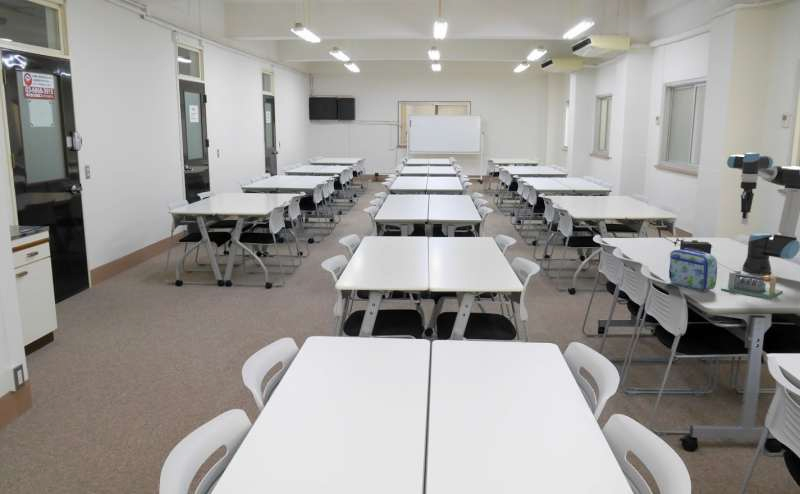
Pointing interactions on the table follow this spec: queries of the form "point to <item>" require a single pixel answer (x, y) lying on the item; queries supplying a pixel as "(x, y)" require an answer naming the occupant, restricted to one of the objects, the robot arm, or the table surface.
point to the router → (696, 246)
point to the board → (767, 293)
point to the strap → (755, 277)
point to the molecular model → (676, 243)
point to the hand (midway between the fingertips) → (744, 224)
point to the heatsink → (751, 285)
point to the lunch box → (693, 269)
